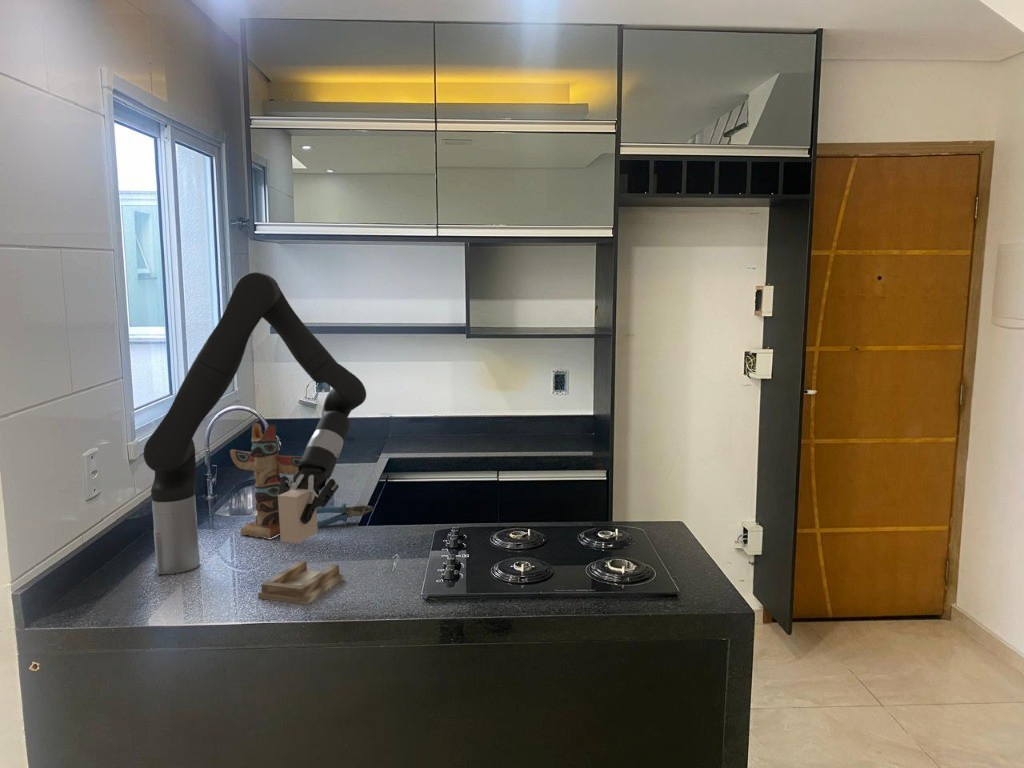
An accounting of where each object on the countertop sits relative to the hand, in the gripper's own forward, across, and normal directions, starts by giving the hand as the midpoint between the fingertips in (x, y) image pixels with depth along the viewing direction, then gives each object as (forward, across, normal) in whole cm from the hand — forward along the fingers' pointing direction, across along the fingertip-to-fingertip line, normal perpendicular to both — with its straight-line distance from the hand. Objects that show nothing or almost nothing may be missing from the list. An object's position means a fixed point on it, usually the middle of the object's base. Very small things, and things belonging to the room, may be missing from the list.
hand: (293, 521), depth 150 cm
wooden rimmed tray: (+10, 0, +12) cm, 16 cm away
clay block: (+2, 0, +4) cm, 5 cm away
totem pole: (-11, -32, +34) cm, 48 cm away
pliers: (-20, -17, +42) cm, 50 cm away
